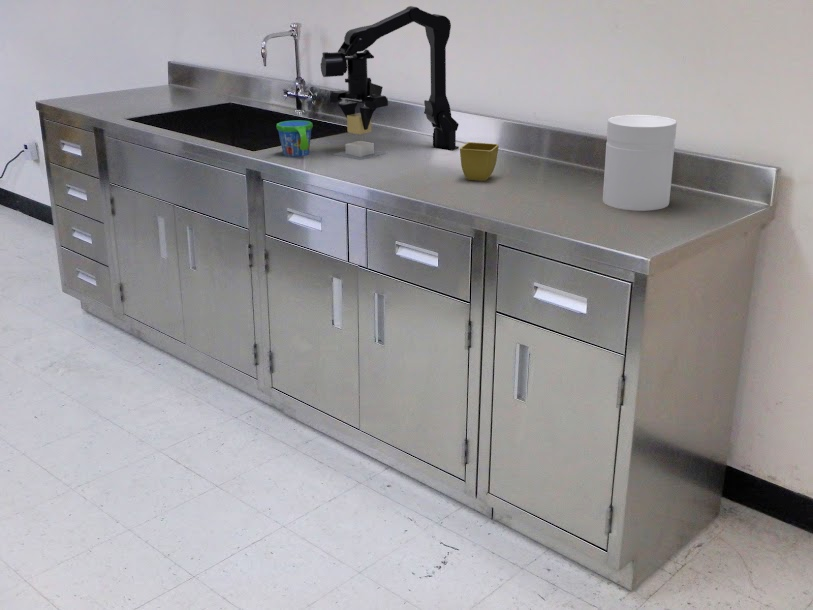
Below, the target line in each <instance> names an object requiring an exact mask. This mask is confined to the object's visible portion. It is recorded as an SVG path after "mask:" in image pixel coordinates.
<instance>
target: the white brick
mask: <svg viewBox="0 0 813 610" xmlns="http://www.w3.org/2000/svg"><path fill="white" fill-rule="evenodd" d="M374 143H375V142H368V141H363V140H357V141H352V142H348V143H345V147H344V148H345V151H346V154H349V155H354V156H359V157H361V156H365V155H369V154H373V153H374V150H375V145H374Z"/></svg>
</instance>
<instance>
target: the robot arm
mask: <svg viewBox="0 0 813 610" xmlns="http://www.w3.org/2000/svg"><path fill="white" fill-rule="evenodd" d="M412 23H415V24H417V25H420V26H422V27H424V29H425V34H426V38H427V42H428V45H429V48H430V49H429V50H430V55H429V56H430V58H429V59H430V96H429V98H428V100H427V99H425V100H424V101H423V102H424V111H423V114H424V115H425V116H426V119H427V120H428V121H429V122H430V124H431V126H432V128H433V133H432V146H431V148H433V149H438V150H445V151H455V150H458V149H460V147H459V146H458V145H456V143H457V141H456V140H457V139H456V137H457V136H456V134H457V132H456V131H457V130H458V129H459V125H460V124H459V122H457V121H456V120H455V119H454V118H453V117H452V111H451V106H450V102H449V99H448V97H447V79H446V78H447V72H446V71H447V62H446V59H447V57H446V54H447V52H446V49H447V44H448V41H449V40H450V39H449V38H450V34H451V28H452V24H451V23H452V22H451V20H450V19H449V18H448V17H447V16H446V15H442V14H436V13H433V14H432V13H430V12H428V11H425V10H422V9H420V8H419V7H417V6H414V5H409V6H407V7H405V9H403V10H400V11H398V12H396V13H394V14H392V15H390V16H388V17H385V18H383V19H381V20H379V21H377V22H375V23H373V24H371V25H370V24H369V25H364V26H360V27H359V26H358V27H356V28H352V29H349V30H347V31H346V33H345V34H344V39H343V43H342V44H341V45H340V47H339V49H338V50H337V51H336V52H328V51H327V52H325V51H324V52H322V56H321V61H320V62H321V63H320V71H321V76H322V77H323V78H331V77H332V78H333V77H343V76H344V74H346V73H347V78H344V82H345V83H347V87H348V88H347V89H348V90H343V89H342V90H338V91H337V90H336V91H332V92H331V93H330V95H329V102H330V103H335V104H337V106H338V107H339V108H340V110H341V112H343V114H344V116H345V118H346V119H347V115H351V114H356V107H357V105H358V103H359V104H360V103H361V104H363V106H361V107H359V113H361V118H362V123H363V127H364V130H367V129H368V127H369V123H370V120H371V121H372V117H373V114H374V112H375V111H376V109H380V108H383V107H388V105H389V104H388V103H389V99H388V97H387V96H386V95H382V91H383V86H382V85H378V84H376V83H373V82H372V79H371V77H368V59H374V58H375V56H374V54H372V53H371V52H370V50H369V49H368V48H369V47H371V46H372V45H374V44H375V42H376V41H378V40H379V39H381V38H382V37H384V36H386V35H388V34H390V33H393V32H395V31H396V30H399V29H401V28H403V27H405V26H408V25H409V24H412ZM338 102H339V103H338Z"/></svg>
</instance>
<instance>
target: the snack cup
mask: <svg viewBox="0 0 813 610" xmlns="http://www.w3.org/2000/svg"><path fill="white" fill-rule="evenodd" d="M313 126H314V125H313V122H311V121H310V120H302V119H301V120H299V119H297V120H284V121H280V122H278V123H276V130H277V132H278V135H279V141H280V144H281V149H282V154H283V156H285V157H291V158H293V157H296V158H297V157H304V156H308V155H310V146H311V136H312V129H313Z"/></svg>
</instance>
